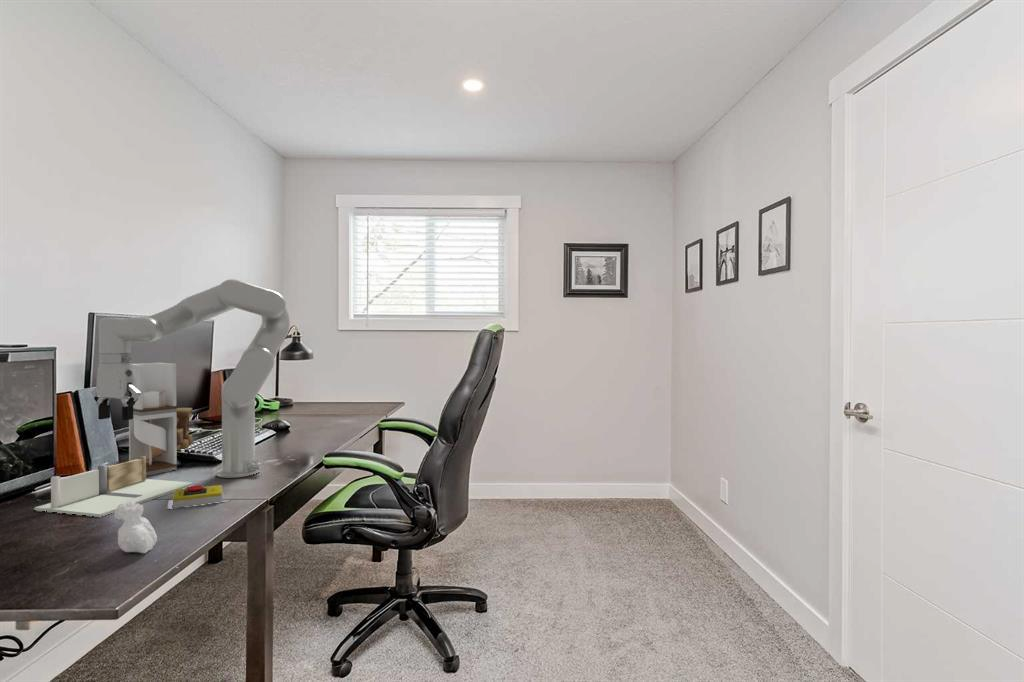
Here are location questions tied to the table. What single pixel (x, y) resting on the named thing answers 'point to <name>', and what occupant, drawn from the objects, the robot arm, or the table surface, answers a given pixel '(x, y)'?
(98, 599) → the table surface
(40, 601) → the table surface
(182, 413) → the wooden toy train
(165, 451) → the white wooden-base stand
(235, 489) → the table surface
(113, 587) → the table surface
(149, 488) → the board
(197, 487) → the emergency button
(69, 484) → the fixed fence section
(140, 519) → the white tied sack
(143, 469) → the wooden panel
